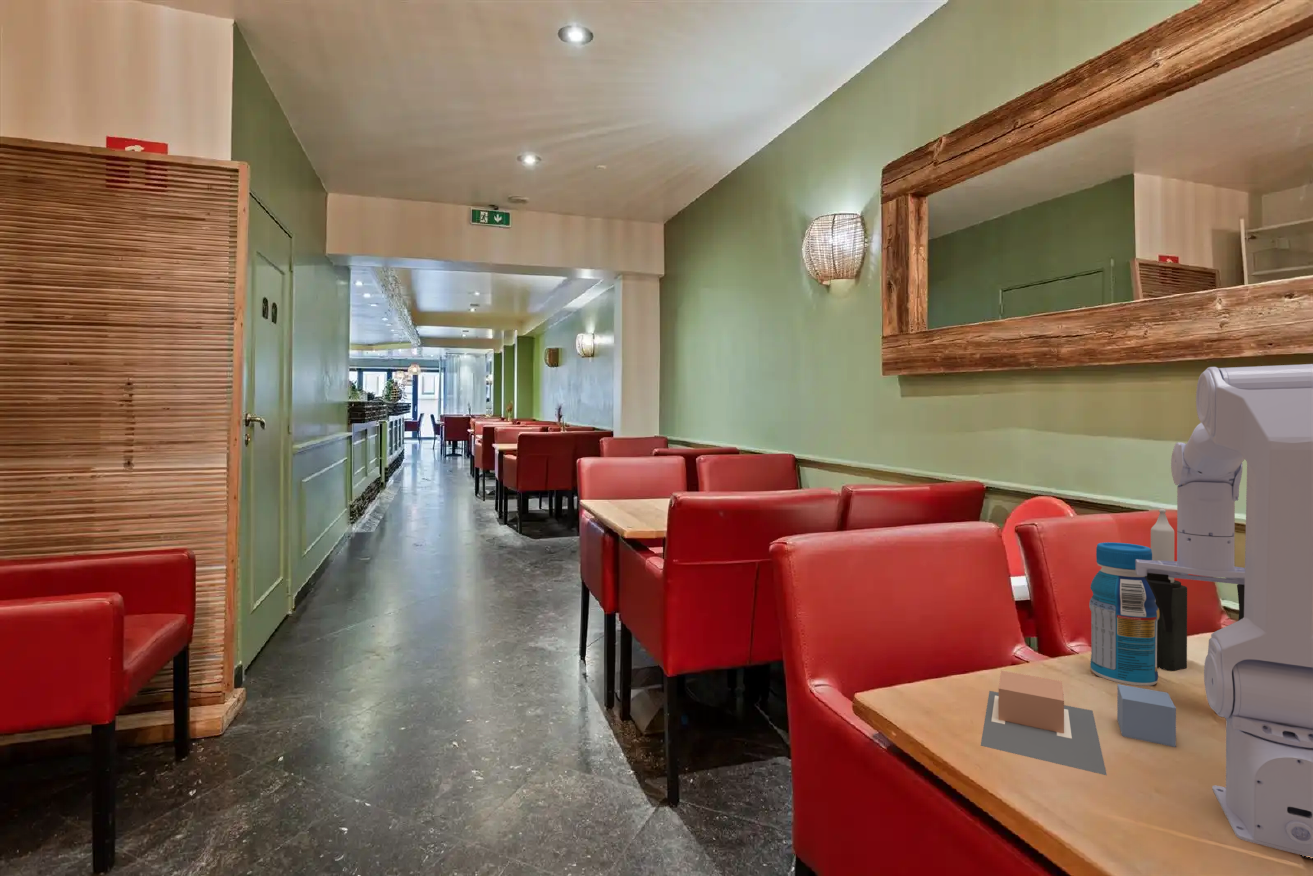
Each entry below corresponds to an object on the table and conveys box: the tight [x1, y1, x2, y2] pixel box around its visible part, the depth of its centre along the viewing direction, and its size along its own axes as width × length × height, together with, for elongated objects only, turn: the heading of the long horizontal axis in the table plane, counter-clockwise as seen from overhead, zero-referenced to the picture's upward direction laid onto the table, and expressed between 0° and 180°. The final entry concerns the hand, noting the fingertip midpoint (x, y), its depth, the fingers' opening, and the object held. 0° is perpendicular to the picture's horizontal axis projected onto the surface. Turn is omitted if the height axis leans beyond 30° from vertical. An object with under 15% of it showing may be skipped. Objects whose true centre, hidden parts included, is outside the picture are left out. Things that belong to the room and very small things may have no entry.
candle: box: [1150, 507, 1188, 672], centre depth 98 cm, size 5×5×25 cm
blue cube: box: [1116, 683, 1177, 748], centre depth 75 cm, size 5×5×5 cm
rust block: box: [998, 670, 1065, 733], centre depth 79 cm, size 7×7×4 cm
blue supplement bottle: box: [1088, 541, 1160, 687], centre depth 93 cm, size 8×8×20 cm
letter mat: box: [980, 690, 1108, 776], centre depth 76 cm, size 18×12×1 cm, turn 148°
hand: (1204, 635), depth 81 cm, fingers open, 7 cm apart
